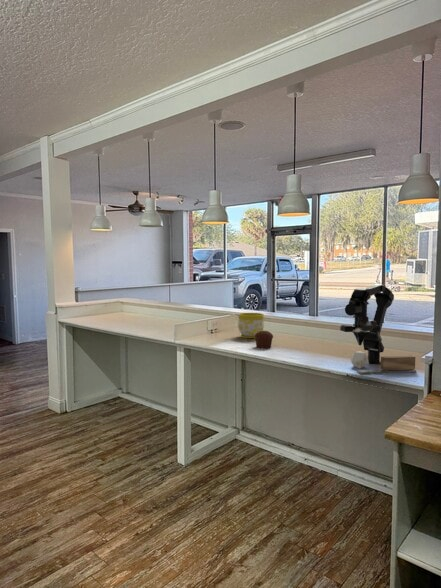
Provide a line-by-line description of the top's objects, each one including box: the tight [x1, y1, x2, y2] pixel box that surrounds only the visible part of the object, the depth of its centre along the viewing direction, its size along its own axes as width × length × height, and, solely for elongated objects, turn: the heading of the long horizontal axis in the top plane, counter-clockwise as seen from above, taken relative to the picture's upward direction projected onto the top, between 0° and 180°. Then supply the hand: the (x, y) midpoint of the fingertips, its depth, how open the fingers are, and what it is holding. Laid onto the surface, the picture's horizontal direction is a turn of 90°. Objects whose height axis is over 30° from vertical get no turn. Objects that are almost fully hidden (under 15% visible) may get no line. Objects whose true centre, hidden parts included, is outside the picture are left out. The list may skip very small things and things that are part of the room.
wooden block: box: [379, 355, 416, 371], centre depth 196 cm, size 3×16×6 cm, turn 99°
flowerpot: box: [237, 312, 265, 339], centre depth 288 cm, size 18×18×16 cm
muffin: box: [254, 330, 274, 349], centre depth 254 cm, size 12×11×10 cm
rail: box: [356, 368, 417, 376], centre depth 195 cm, size 4×28×1 cm, turn 99°
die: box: [350, 350, 370, 370], centre depth 204 cm, size 8×9×10 cm
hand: (359, 345), depth 204 cm, fingers closed
